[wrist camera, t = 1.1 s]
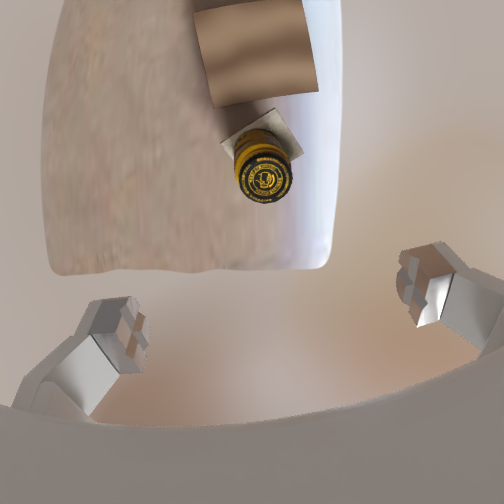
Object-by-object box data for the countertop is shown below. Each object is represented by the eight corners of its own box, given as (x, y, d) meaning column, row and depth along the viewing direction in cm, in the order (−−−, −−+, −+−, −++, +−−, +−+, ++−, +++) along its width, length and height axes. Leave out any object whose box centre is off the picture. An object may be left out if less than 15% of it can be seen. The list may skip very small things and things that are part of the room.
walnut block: (197, 20, 28) (192, 13, 24) (292, 6, 27) (300, -3, 23) (216, 104, 34) (214, 108, 30) (308, 89, 34) (318, 91, 30)
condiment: (220, 143, 37) (216, 171, 27) (275, 108, 35) (293, 122, 25) (251, 184, 41) (258, 227, 31) (303, 152, 38) (329, 184, 29)
